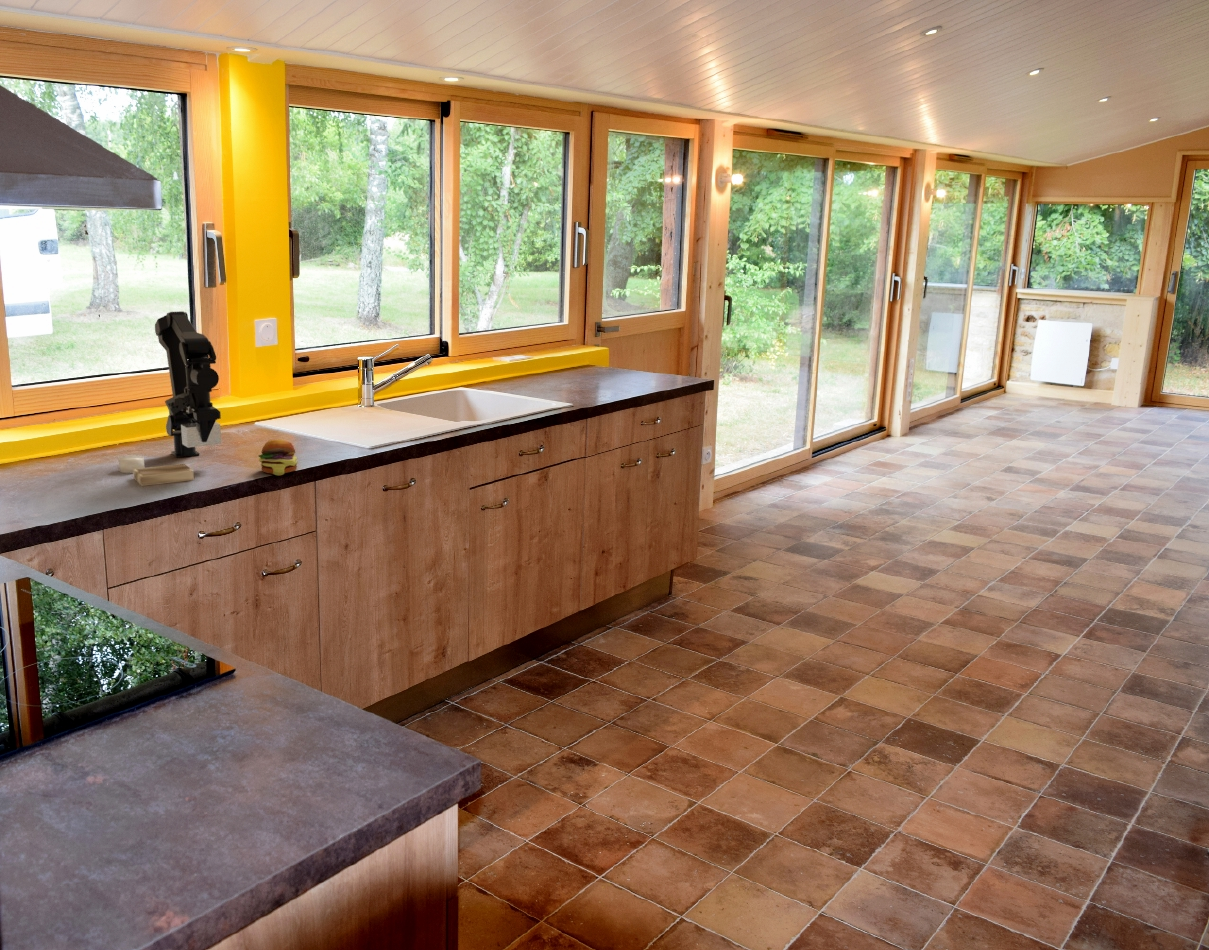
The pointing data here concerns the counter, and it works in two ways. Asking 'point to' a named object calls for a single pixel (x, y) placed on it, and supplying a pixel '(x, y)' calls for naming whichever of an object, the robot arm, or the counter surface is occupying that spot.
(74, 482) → the counter surface
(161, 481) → the stand
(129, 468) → the cream rounded block
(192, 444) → the block
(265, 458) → the cheeseburger
